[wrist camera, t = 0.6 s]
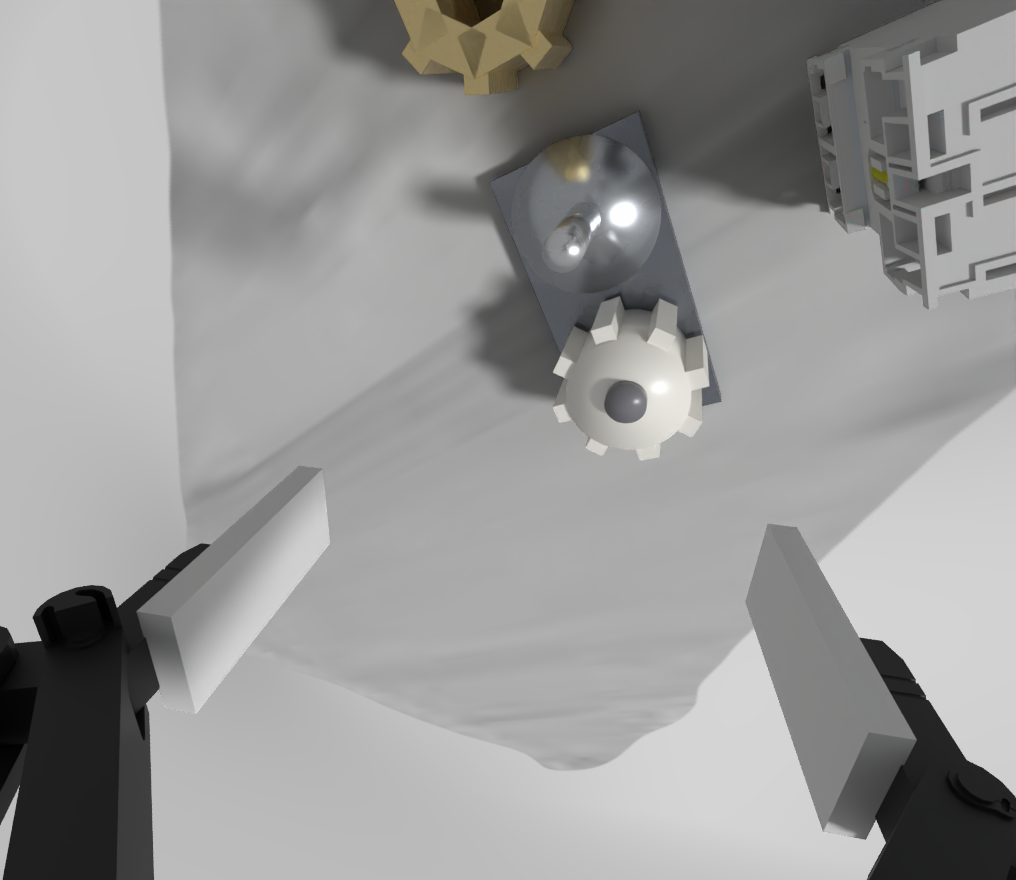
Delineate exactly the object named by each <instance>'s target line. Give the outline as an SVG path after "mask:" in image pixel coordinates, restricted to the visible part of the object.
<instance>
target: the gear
mask: <svg viewBox="0 0 1016 880" xmlns="http://www.w3.org/2000/svg"><path fill="white" fill-rule="evenodd" d="M677 308H678V307H677V306H675V305H673V304H671V303H669V302H666V301H664V300H662V299H660V298H659V300H658V302H657V304H656V306H655V307H654V309H653V311H652V312H651V311H647V310H641V309H629V310H624V307H623V304H622V301H621V298H620V296H619V297H616V298H613V299H610V300H607V301H604V302H601V305H600V307H599V310H598V313H597V315H596V318H595V321H594V324H593V326H592V328H591V329H590V330H589V331H588V332H585V331H583V330H581V329H579V328H577V327H575V326H574V327H573V329H572V331H571V333H570V335H569V337H568V339H567V342H566V344H565V346H564V348H563V351H562V353H561V355H560V357H559V360H558V362H557V364H556V366H555V369H554V371H553V373H555V374H557V375H559V376H561V377H563V378H564V380H563V382H562V385H561V387H560V390H559V392H558V395H557V397H556V400H555V402H554V405H553V409H554V412H555V414H556V416H557V418H558V421H559V423H562V422H566V421H570V420H574V422H575V423H576V425H577V426H578V427H579V428H580V429H581V430H582V431H583V432H584V433H585V434H586V435H587V436H588V440H587V443H586V447H585V448H586V449H588V450H590V451H592V452H594V453H596V454H599V455H601V456H603V454H604V453H605V451H606V449H607V448H608V447H612V448H616V449H623V450H636V451H637V453H638V456H639V459H640V461H642V460H647V459H652V458H657V457H659V455H660V443H662V442H663V441H665V440H667V439H668V438H670V437H671V436H672V435H673V434H675V433H676V432H677V431H679V432H681V433H683V434H685V435H687V436H690V437H692V436H693V435H694V433H695V432H696V431H697V429H698V428H699V427H700V425H701V424H702V423H703V419H702V388H704V387H708V386H709V373H708V355H707V349H706V346H705V342H704V339H703V335H699V336H696V337H692V338H689V339H686V338H685V336H684V334H683V333H682V331H681V330H680V329H679V328H678V327H677Z"/></svg>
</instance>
